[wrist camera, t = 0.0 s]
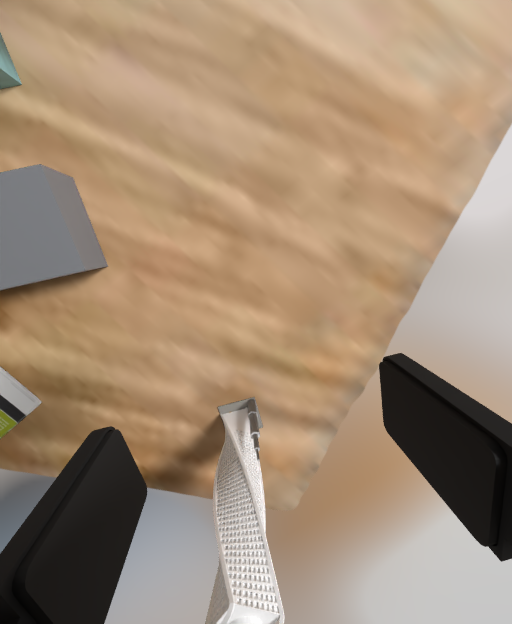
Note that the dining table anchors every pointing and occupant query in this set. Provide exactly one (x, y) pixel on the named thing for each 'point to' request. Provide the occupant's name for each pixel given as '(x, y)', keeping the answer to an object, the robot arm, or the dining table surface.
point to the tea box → (14, 402)
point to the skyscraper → (242, 526)
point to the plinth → (43, 228)
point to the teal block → (7, 68)
